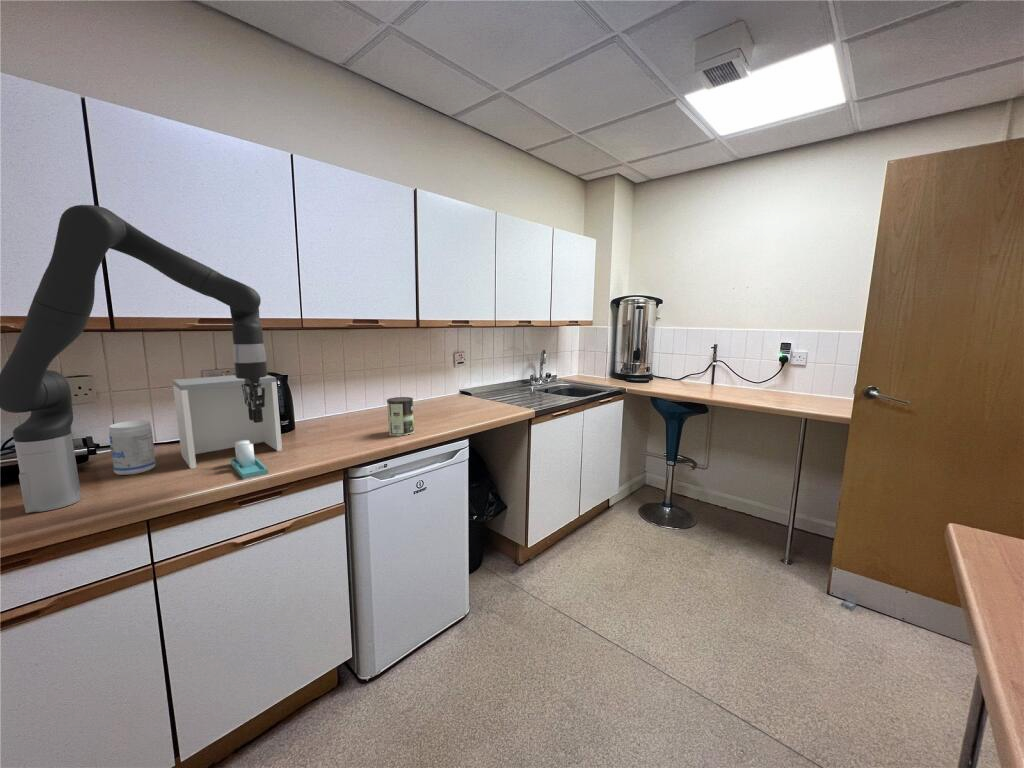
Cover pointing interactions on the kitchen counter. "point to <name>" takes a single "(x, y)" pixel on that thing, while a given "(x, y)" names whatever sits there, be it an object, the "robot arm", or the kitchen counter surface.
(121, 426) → the supplement tub
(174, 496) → the kitchen counter surface
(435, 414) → the kitchen counter surface
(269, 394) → the white shelf
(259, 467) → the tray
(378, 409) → the kitchen counter surface
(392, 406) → the coffee can
